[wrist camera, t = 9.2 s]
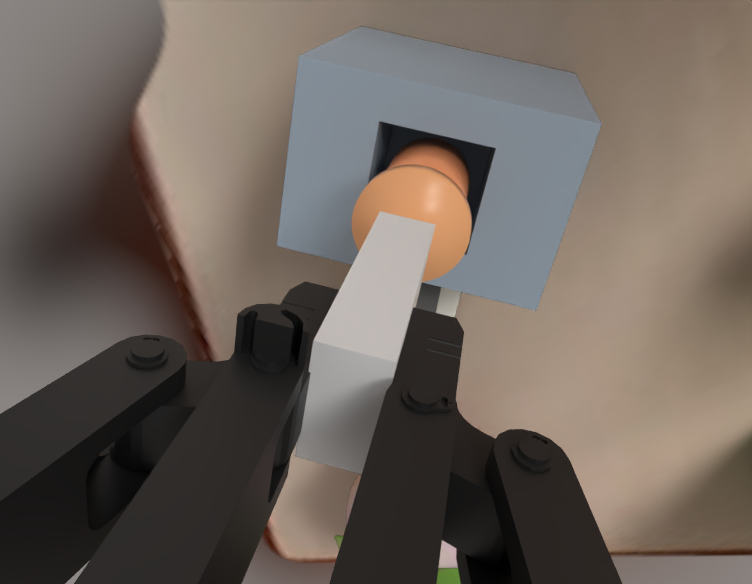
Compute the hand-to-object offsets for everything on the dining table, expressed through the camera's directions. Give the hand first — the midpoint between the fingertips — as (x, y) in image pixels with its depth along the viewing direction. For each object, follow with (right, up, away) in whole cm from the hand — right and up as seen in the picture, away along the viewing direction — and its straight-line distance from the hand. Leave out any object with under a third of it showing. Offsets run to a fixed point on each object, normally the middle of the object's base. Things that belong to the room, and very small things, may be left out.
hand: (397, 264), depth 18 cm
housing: (+3, +7, +14) cm, 16 cm away
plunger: (+1, +3, +6) cm, 7 cm away
